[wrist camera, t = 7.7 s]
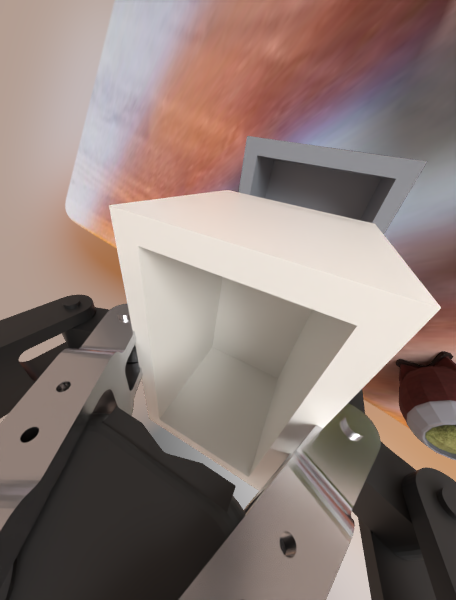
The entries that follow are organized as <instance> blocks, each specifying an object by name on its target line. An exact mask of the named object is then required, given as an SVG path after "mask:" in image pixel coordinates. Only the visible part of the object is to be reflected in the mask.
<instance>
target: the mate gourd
mask: <svg viewBox="0 0 456 600" xmlns="http://www.w3.org/2000/svg"><path fill="white" fill-rule="evenodd" d="M452 358H453V356H452V355H451V353H448V352H445V351H444V352H441V353H440V354H439V355H438V356H437V357H436V358H435V359H434V360H433V361H432V363H431V364H430V365H428V366H426V367H425V366H422V365H418V364H415V363H411V362H408V361H405V360H401V359H399V360H397V362H396V365H397V366H399V367H400V374H399V381H400V387H399V406H400V410H401V412H402V415H403V417H404V418H405V420H406V422H407V425H408V426H409V428H410V429H411V431H412V432H413V433H414V435H415V436H416V437H417V438H418V439H419V440H420V441H421V442H423V443H424V444H425V445H426V446H428V447H429V448H431V449H432V450H433V451H435V452H436V453H439V454H441V455H443V456H446V457H448V458H451V459H454V460H456V364H455V363H454V362H453V361H452V360H451V359H452Z"/></svg>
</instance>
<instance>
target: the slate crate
mask: <svg viewBox="0 0 456 600" xmlns="http://www.w3.org/2000/svg"><path fill="white" fill-rule="evenodd" d="M426 163H427V161H420V160H413V159H406V158H399V157H392V156H385V155H378V154H371V153H364V152H357V151H350V150H343V149H336V148H329V147H321V146H314V145H307V144H300V143H293V142H286V141H279V140H272V139H265V138H258V137H251V136H247V141H246V147H245V154H244V160H243V166H242V173H241V179H240V186H239V193H243V194H247V195H252V196H256V197H260V198H265V199H269V200H273V201H278V202H282V203H286V204H291V205H295V206H300V207H304V208H308V209H313V210H317V211H321V212H326V213H330V214H334V215H339V216H343V217H347V218H352V219H356V220H360V221H365V222H369V223H373V224H376V226H377V227H378V228H379V230H380V231H381V232H382V233H383V235H384V233H385V232H386V230H387V228H388V227H389V225H390V223H391V222H392V220H393V218H394V217H395V215H396V213H397V212H398V210H399V208H400V207H401V205H402V203H403V202H404V200H405V198H406V197H407V195H408V193H409V192H410V190H411V188H412V187H413V185H414V183H415V182H416V180H417V178H418V177H419V175H420V173H421V172H422V170H423V168H424V167H425V165H426Z"/></svg>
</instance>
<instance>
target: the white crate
mask: <svg viewBox="0 0 456 600" xmlns="http://www.w3.org/2000/svg"><path fill="white" fill-rule="evenodd" d="M109 209H110V214H111V219H112V225H113V230H114V235H115V240H116V246H117V251H118V256H119V262H120V267H121V272H122V277H123V283H124V288H125V293H126V299H127V304H128V309H129V315H130V320H131V325H132V330H133V331H135V336H136V343H135V346H136V352H137V357H138V362H139V367H140V368H142V374H143V376H142V383H143V389H144V394H145V399H146V405H147V410H148V415H149V419H150V420H152V421H153V422H155V423H156V424H158V425H160V426H161V427H163V428H164V429H166V430H167V431H169V432H170V433H172V434H173V435H175V436H176V437H178V438H179V439H181V440H182V441H184V442H186V443H187V444H189V445H191V446H192V447H193V448H195V449H196V450H198V451H199V452H201V453H202V454H204V455H205V456H207V457H208V458H210V459H212V460H213V461H214V462H216V463H218V464H219V465H221V466H222V467H224V468H225V469H227V470H228V471H230V472H231V473H233V474H234V475H236V476H238V477H239V478H240V479H242V480H243V481H245V482H247V483H248V484H250V485H251V486H253V487H254V488H256V489H257V490H259V491H260V490H261V488H262V487H263V486H264V485H265V484H266V483H267V481H268V480H269V479H270V478H271V476H272V475H273V474H274V473H275V472H276V470H277V469H278V468H279V467H280V465H281V464H282V463H283V462H284V461H285V459H286V458H287V457H288V456H289V455H290V454H293V453H294V451H295V450H296V449H297V448H298V446H299V445H300V444H301V443H302V441H303V440H304V439H305V438H306V436H307V435H308V434H309V433H310V432H311V431H312V429H313V428H314V427H315V426H316V425H317V426H319V427H321V428H324V427H325V426H326V425H327V424H328V423H329V422H330V421H331V420H332V419H333V418H334V417H335V416H336V415H337V414H338V413H339V412H340V411H341V410H342V409H343V408H344V407H345V406H346V405H347V404H348V402H349V401H350V400H351V399H352V398H353V397H354V396H355V395H356V394H357V393H358V392H359V391H360V390H361V389H362V388H363V387H364V386H365V385H366V384H367V383H368V382H369V381H370V380H371V379H372V378H373V377H374V376H375V375H376V374H377V373H378V372H379V371H380V370H381V369H382V368H383V367H384V366H385V365H386V364H387V363H388V362H389V361H390V360H391V359H392V358H393V357H394V356H395V355H396V354H397V353H398V352H399V351H400V350H401V349H402V347H403V346H404V345H405V344H406V343H407V342H408V341H409V340H410V339H411V338H412V337H413V336H414V335H415V334H416V333H417V332H418V331H419V330H420V329H421V328H422V327H423V326H424V325H425V324H426V323H427V322H428V321H429V320H430V319H431V318H432V317H433V316H434V315H435V314H436V313H437V312H438V311H439V310H440V309H441V307H440V306H439V304H438V303H437V302H436V301H435V299H434V298H433V297H432V295H431V294H430V293H429V292H428V290H427V289H426V288H425V287H424V285H423V284H422V283H421V282H420V280H419V279H418V278H417V276H416V275H415V274H414V273H413V271H412V270H411V269H410V268H409V266H408V265H407V264H406V262H405V261H404V260H403V259H402V257H401V256H400V255H399V254H398V252H397V251H396V250H395V249H394V247H393V246H392V245H391V243H390V242H389V241H388V240H387V238H386V237H385V236H384V235H383V233H382V232H381V231H380V230H379V228H378V227H377V226H376V224H373V223H369V222H365V221H360V220H356V219H352V218H347V217H343V216H339V215H334V214H330V213H326V212H321V211H317V210H313V209H308V208H304V207H300V206H295V205H291V204H286V203H282V202H278V201H273V200H269V199H265V198H260V197H256V196H252V195H247V194H243V193H239V192H234V191H230V190H224V191H216V192H208V193H200V194H193V195H185V196H177V197H169V198H162V199H154V200H146V201H138V202H130V203H123V204H115V205H109Z"/></svg>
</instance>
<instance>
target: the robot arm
mask: <svg viewBox="0 0 456 600" xmlns="http://www.w3.org/2000/svg"><path fill="white" fill-rule="evenodd" d="M61 333H62V335H63V337H64V339H65V341H66V342H65V343H63V344H61V345H59V346H57V347H56V348H53V349H51V350H49V351H48V352H46V353H44V354H42V355H40V356H38V357H36V358H34V359H32V360H30V361H26V362H19V361H18V359H19V356H20V355H21V354H22V353H23V352H24V351H26V350H27V349H29V348H32V347H34V346H36V345H38V344H40V343H42V342H44V341H46V340H48V339H50V338H53V337H55V336H57V335H59V334H61ZM135 343H136V336H135V331H133V330H132V325H131V320H130V315H129V309H128V304H122V305H118V306H115V307H113V308H112V309H110V310H108V309H102V308H96V307H94V304H93V301H92V299H91V298H90V297H89V296H85V295H72V296H67V297H64V298H61V299H58V300H56V301H53V302H50V303H47V304H44V305H42V306H39V307H36V308H33V309H31V310H28V311H25V312H22V313H20V314H17V315H14V316H11V317H9V318H6V319H3V320H1V321H0V418H2V417H3V416H5V415H7V414H8V413H9V414H8V415H7V416H6V417H5V419H4V420H3V421H2V422H1V423H0V600H326V599H327V596H328V594H329V591H330V589H331V587H332V584H333V582H334V580H335V577H336V575H337V573H338V570H339V568H340V565H341V563H342V561H343V558H344V556H345V554H346V551H347V549H348V547H349V544H350V542H351V539H352V536H353V532H354V520H353V519H352V518H351V511H353V512H354V514H355V515H357V517H358V520H359V526H360V532H361V538H362V544H363V550H364V556H365V562H366V568H367V575H368V581H369V587H370V593H371V599H372V600H456V482H455V481H454V480H453V479H451V478H450V477H448V476H447V475H445V474H444V473H442V472H440V471H438V470H435V469H432V468H422V469H420V470H417V471H416V470H415V469H414V468H413V467H411V466H410V465H409V464H408V463H406V462H405V461H404V460H402V459H401V458H400V457H399V456H397V455H396V454H395V453H393V452H392V451H391V450H390V449H389V448H388V447H386V446H385V445H384V444H383V443H382V442H381V441H380V436H379V434H378V431H377V429H376V427H375V425H374V424H373V423H372V421H371V420H370V419H369V418H368V417H367V415H365V410H364V402H363V393H362V389H361V390H360V391H359V392H358V393H357V394H356V395H355V396H354V397H353V398H352V399H351V400H350V401H349V402H348V404H347V405H346V406H345V407H344V408H343V409H342V410H341V411H340V412H339V413H338V414H337V415H336V416H335V417H334V418H333V419H332V420H331V421H330V422H329V423H328V424H327V425H326V426H325V427H324V428H321V427H319V426H317V425H316V426H315V427H314V428H313V429H312V431H311V432H310V433H309V434H308V435H307V436H306V438H305V439H304V440H303V441H302V443H301V444H300V445H299V446H298V448H297V449H296V450H295V451H294V453H293V454H290V455H289V456H288V457H287V458H286V459H285V461H284V462H283V463H282V464H281V465H280V467H279V468H278V469H277V470H276V472H275V473H274V474H273V475H272V476H271V478H270V479H269V480H268V481H267V483H266V484H265V485H264V486H263V487H262V488H261V490H260V491H259V492H258V493H257V494H256V496H255V497H254V498H253V499H252V500H251V502H250V503H249V504H248V505H247V507H246V508H245V509H244V510H243V509H242V507H241V506H240V504H239V503H238V501H237V500H236V499H235V498H234V496H233V492H234V490H235V485H233V484H232V483H231V482H229V481H228V480H226V479H225V478H223V477H222V476H220V475H219V474H217V473H216V472H214V471H213V470H211V469H210V468H208V467H207V466H205V465H204V464H202V463H199V462H195V461H191V460H188V459H184V458H180V457H177V456H173V455H170V454H167V453H165V452H163V451H162V449H161V448H160V447H159V445H158V444H157V443H156V441H155V440H154V439H153V437H152V436H151V435H150V433H149V432H148V430H147V429H146V428H145V426H144V425H143V424H142V423H141V422H139V421H138V420H137V419H135V418H133V417H132V412H133V405H134V397H135V394H136V391H137V388H138V386H139V383H140V381H141V378H142V376H143V374H142V368H140V367H139V362H138V357H137V352H136V346H135Z"/></svg>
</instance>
